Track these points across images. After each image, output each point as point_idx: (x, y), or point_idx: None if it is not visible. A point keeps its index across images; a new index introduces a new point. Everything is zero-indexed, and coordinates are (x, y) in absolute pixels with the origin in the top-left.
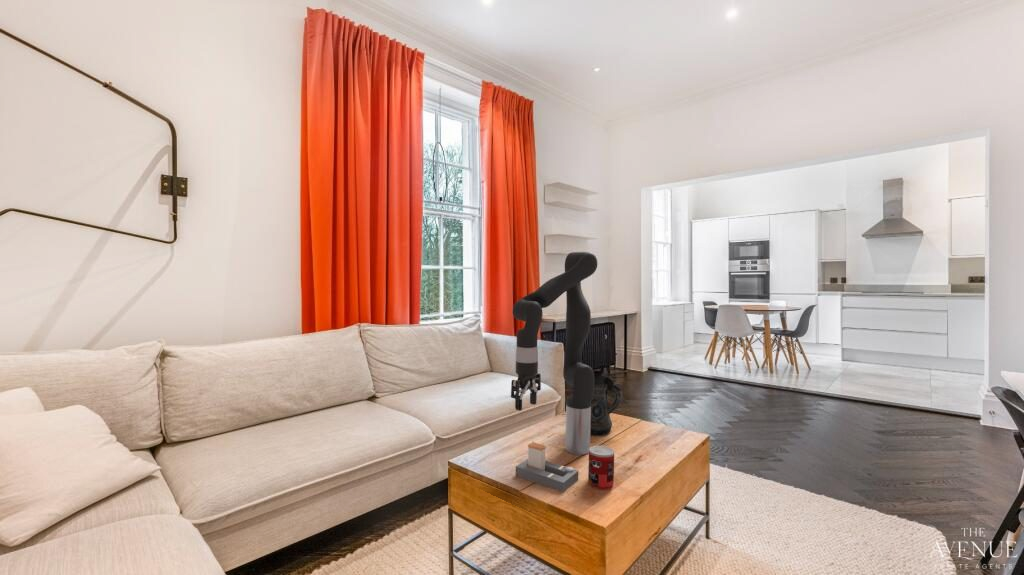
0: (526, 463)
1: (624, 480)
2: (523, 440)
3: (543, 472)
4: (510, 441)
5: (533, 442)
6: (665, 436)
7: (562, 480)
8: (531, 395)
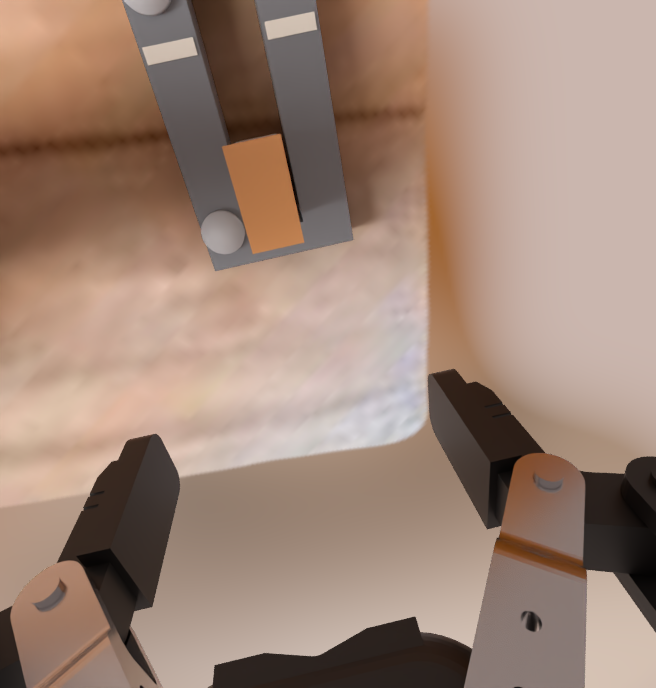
0: None
1: None
2: (101, 444)
3: (296, 88)
4: None
5: (253, 245)
6: None
7: None
8: (149, 561)
